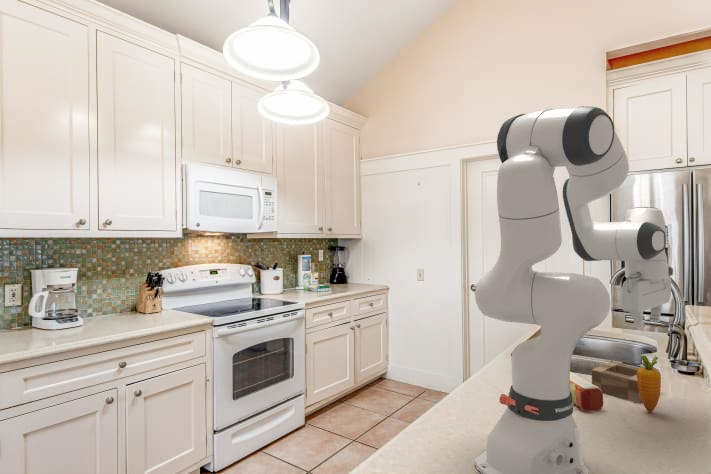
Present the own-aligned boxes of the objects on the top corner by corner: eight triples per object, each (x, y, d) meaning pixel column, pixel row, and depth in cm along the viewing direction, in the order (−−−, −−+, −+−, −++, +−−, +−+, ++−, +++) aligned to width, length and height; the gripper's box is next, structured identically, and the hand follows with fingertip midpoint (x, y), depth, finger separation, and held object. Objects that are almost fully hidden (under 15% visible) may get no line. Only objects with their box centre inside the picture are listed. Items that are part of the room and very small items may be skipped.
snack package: (541, 383, 125) (540, 361, 125) (562, 382, 126) (561, 361, 126) (580, 413, 104) (579, 387, 104) (605, 412, 104) (605, 386, 104)
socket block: (638, 403, 108) (638, 381, 108) (592, 390, 118) (591, 369, 118) (656, 392, 115) (656, 371, 115) (611, 380, 125) (610, 361, 125)
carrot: (660, 411, 104) (659, 353, 103) (663, 418, 99) (661, 358, 99) (637, 407, 106) (635, 350, 106) (638, 414, 102) (636, 355, 102)
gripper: (642, 275, 94) (644, 334, 94) (675, 268, 106) (677, 320, 106) (613, 274, 99) (614, 329, 100) (648, 266, 111) (649, 316, 111)
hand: (647, 324), depth 103 cm, fingers open, 8 cm apart
